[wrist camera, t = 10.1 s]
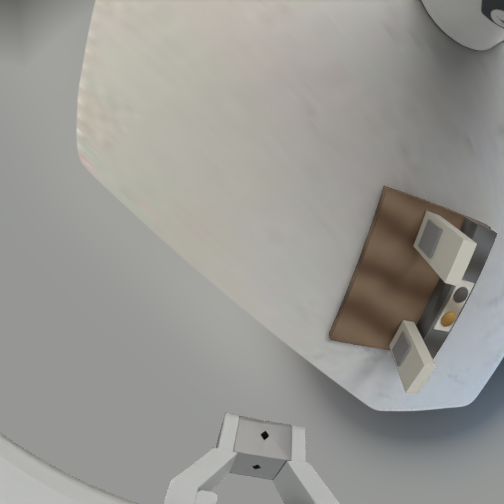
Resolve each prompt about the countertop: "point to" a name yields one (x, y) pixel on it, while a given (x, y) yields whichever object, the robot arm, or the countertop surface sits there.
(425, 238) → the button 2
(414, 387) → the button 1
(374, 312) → the console
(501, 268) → the countertop surface
